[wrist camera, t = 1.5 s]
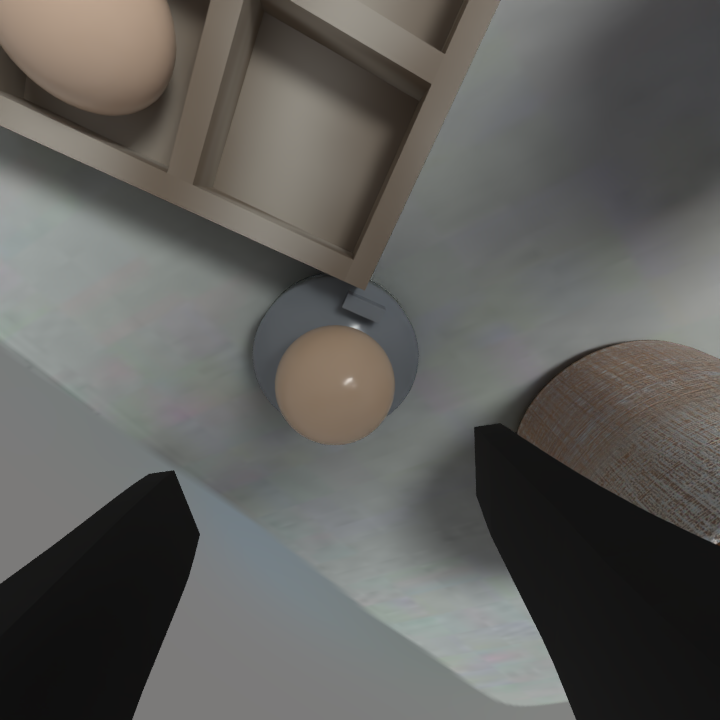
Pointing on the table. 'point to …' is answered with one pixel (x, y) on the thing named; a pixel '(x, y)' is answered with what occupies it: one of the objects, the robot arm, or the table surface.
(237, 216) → the carton
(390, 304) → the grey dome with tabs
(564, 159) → the table surface
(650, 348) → the planter
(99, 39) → the egg
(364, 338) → the egg loose
